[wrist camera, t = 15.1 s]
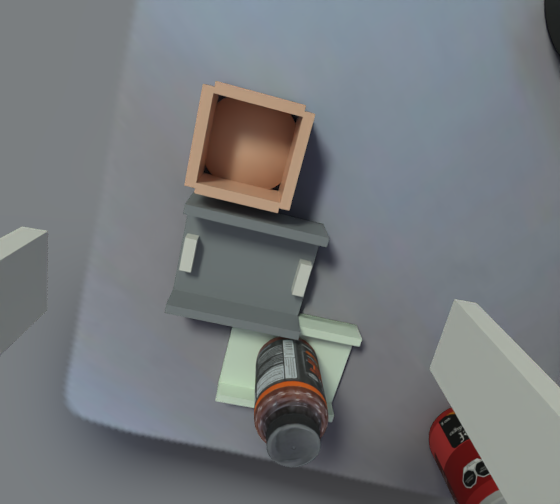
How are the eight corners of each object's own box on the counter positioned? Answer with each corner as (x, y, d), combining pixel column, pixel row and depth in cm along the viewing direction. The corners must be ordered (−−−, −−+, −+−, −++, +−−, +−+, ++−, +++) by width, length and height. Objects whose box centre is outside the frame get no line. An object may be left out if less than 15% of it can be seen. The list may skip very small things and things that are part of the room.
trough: (356, 325, 42) (362, 339, 40) (328, 404, 45) (331, 422, 43) (238, 300, 41) (237, 313, 38) (218, 383, 44) (215, 401, 41)
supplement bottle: (326, 370, 43) (347, 462, 32) (272, 393, 43) (275, 490, 33) (301, 322, 41) (314, 403, 30) (244, 347, 41) (238, 434, 31)
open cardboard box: (309, 106, 35) (316, 108, 30) (284, 201, 38) (287, 215, 33) (211, 80, 34) (204, 77, 30) (193, 178, 37) (183, 190, 32)
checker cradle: (322, 224, 38) (329, 238, 35) (294, 317, 41) (298, 340, 38) (192, 192, 37) (184, 204, 33) (173, 292, 40) (164, 312, 36)
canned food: (505, 402, 46) (576, 492, 36) (486, 461, 49) (546, 560, 38) (435, 398, 45) (486, 488, 35) (419, 457, 48) (462, 557, 38)
